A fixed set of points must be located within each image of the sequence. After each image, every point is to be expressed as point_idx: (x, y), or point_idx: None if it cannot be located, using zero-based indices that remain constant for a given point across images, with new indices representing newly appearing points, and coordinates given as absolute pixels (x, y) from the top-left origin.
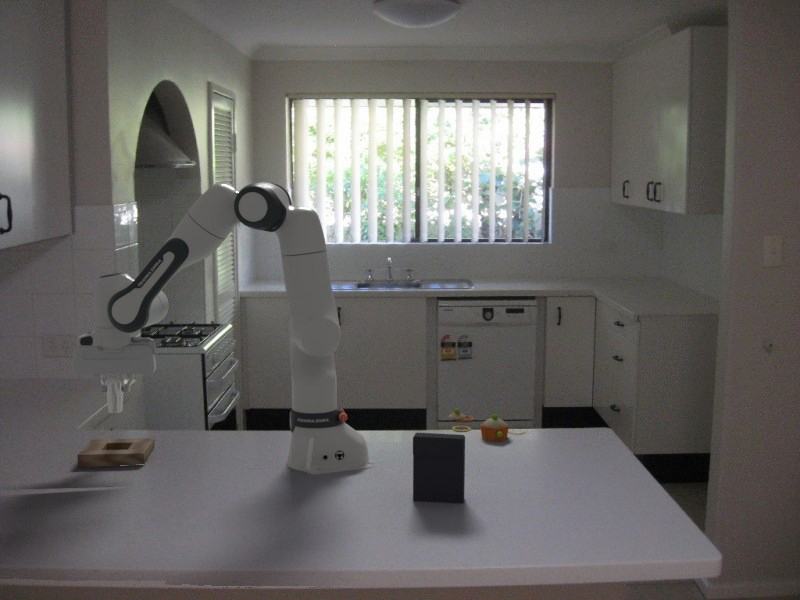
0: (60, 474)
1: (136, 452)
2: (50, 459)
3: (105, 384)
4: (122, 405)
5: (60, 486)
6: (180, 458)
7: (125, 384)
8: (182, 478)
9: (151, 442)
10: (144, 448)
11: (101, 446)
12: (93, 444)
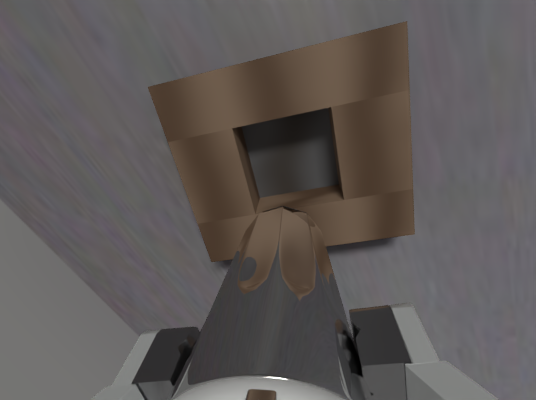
0: (208, 284)
1: (385, 228)
2: (99, 177)
3: (164, 398)
4: (326, 251)
5: None
6: (511, 119)
7: (390, 389)
8: (529, 294)
9: (409, 96)
10: (401, 182)
11: (235, 173)
12: (193, 152)
